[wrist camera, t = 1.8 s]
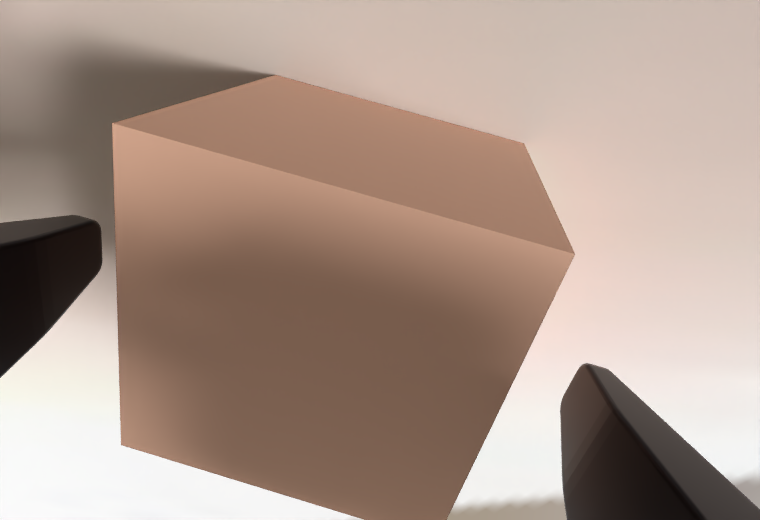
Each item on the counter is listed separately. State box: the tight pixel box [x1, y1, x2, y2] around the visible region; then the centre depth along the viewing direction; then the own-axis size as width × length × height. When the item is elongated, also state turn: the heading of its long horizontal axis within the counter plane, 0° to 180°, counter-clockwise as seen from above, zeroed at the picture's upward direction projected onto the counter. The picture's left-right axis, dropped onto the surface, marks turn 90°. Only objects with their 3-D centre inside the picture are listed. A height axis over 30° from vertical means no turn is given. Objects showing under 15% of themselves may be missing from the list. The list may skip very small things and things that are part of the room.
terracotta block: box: [112, 75, 575, 520], centre depth 10 cm, size 6×6×6 cm
